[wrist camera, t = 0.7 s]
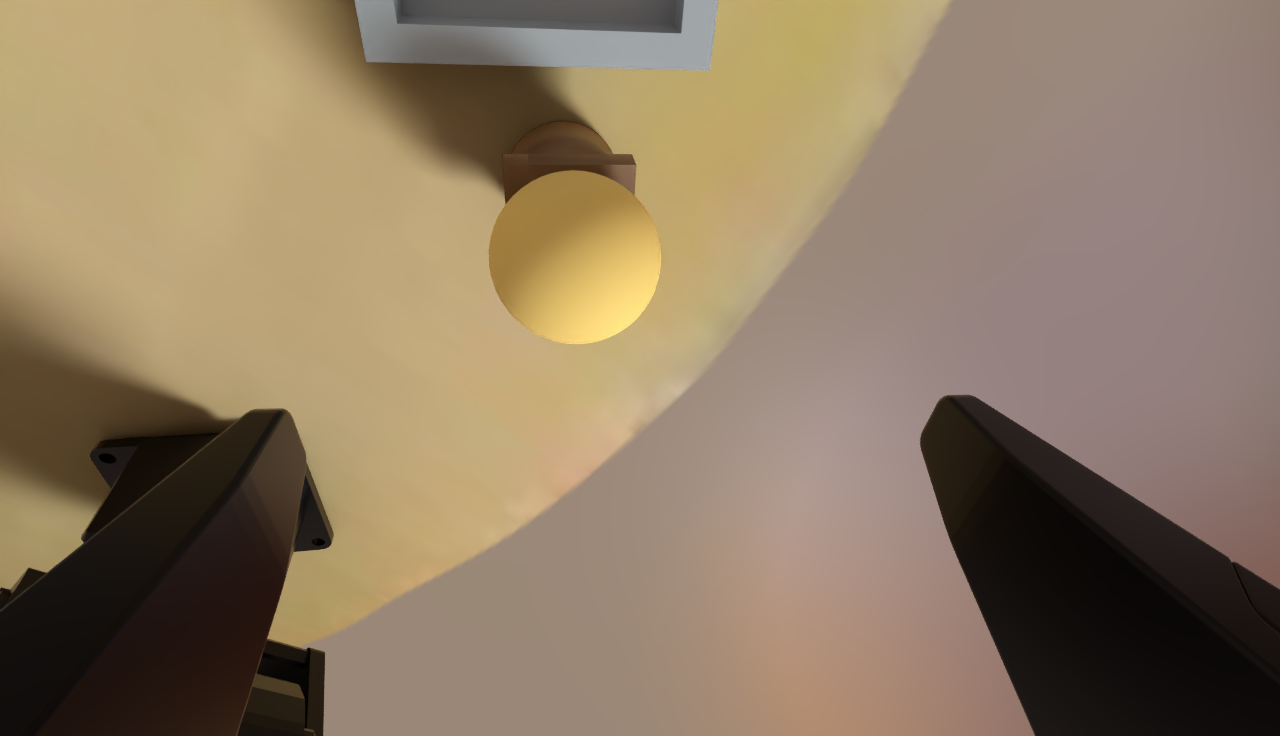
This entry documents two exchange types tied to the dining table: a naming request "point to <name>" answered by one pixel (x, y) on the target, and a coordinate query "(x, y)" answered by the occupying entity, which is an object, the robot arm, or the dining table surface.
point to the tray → (541, 32)
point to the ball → (574, 257)
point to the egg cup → (564, 157)
